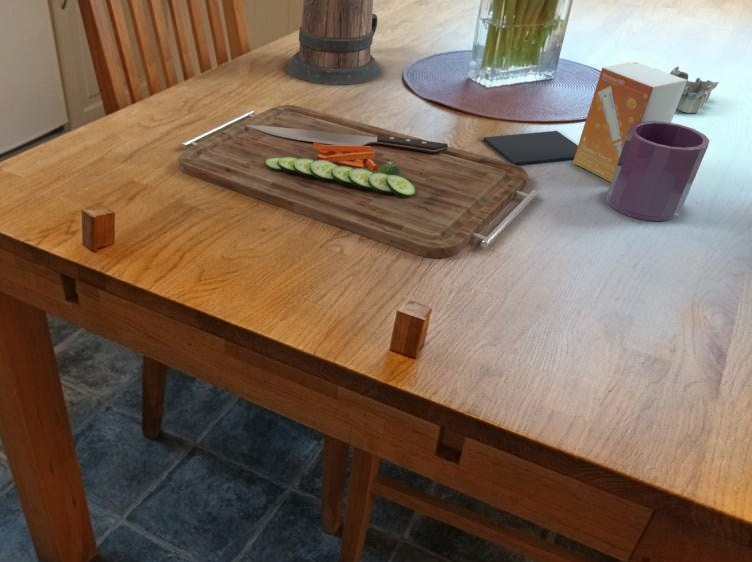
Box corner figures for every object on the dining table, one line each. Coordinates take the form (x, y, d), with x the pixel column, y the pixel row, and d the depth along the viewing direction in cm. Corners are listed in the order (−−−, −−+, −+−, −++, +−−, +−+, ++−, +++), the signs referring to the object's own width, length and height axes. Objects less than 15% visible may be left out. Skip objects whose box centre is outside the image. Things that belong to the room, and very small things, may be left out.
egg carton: (667, 89, 124) (676, 65, 121) (714, 100, 120) (724, 74, 117) (647, 105, 117) (656, 79, 115) (695, 116, 113) (706, 90, 111)
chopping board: (154, 162, 97) (152, 140, 95) (270, 106, 114) (270, 86, 112) (466, 271, 77) (471, 246, 75) (549, 183, 94) (556, 161, 92)
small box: (571, 164, 99) (600, 66, 90) (604, 155, 101) (635, 60, 93) (617, 187, 93) (653, 86, 85) (651, 178, 96) (689, 78, 87)
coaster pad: (555, 133, 107) (556, 130, 107) (591, 157, 101) (591, 154, 100) (483, 139, 105) (483, 137, 105) (514, 165, 98) (515, 162, 98)
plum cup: (649, 186, 94) (675, 118, 88) (695, 217, 87) (726, 146, 82) (592, 192, 92) (614, 124, 86) (634, 224, 86) (661, 152, 80)
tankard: (354, 91, 120) (367, -45, 107) (268, 72, 126) (270, -57, 114) (409, 56, 135) (426, -66, 123) (330, 41, 142) (338, -76, 129)
